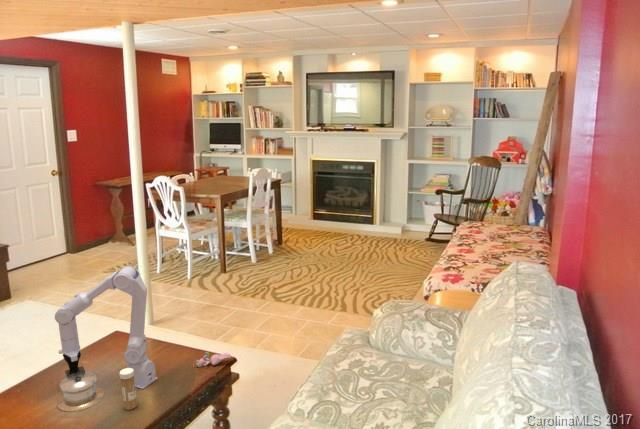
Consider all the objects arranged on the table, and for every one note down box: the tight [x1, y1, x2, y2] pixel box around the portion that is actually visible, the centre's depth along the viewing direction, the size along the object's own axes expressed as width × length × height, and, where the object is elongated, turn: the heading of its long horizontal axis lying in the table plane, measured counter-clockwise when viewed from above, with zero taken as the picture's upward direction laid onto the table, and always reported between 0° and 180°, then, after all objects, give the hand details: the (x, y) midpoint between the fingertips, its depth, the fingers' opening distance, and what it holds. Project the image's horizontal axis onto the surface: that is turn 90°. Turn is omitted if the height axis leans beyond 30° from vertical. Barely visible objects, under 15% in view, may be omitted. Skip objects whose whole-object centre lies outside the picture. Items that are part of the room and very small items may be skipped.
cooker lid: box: [59, 365, 97, 393], centre depth 178 cm, size 15×12×2 cm
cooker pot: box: [56, 384, 105, 413], centre depth 178 cm, size 15×15×6 cm
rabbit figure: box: [192, 351, 232, 368], centre depth 200 cm, size 6×6×15 cm
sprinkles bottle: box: [119, 367, 138, 411], centre depth 172 cm, size 5×5×14 cm
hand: (74, 371), depth 186 cm, fingers closed
